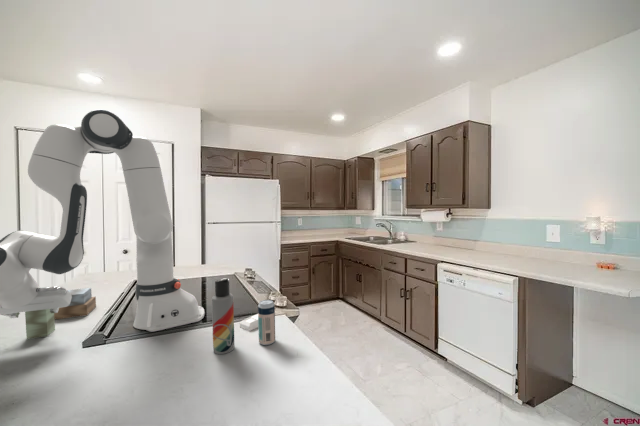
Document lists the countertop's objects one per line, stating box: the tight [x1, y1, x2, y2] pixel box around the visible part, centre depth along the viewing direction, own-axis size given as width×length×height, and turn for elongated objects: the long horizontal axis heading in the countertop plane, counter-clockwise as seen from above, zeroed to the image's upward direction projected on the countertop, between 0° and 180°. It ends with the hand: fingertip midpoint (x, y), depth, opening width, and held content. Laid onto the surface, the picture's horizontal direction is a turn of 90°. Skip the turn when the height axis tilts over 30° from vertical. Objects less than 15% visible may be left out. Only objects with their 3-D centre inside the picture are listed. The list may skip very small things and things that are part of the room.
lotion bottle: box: [211, 278, 235, 355], centre depth 80 cm, size 6×6×20 cm
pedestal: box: [54, 287, 97, 320], centre depth 109 cm, size 10×10×8 cm
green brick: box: [24, 309, 56, 340], centre depth 91 cm, size 5×5×10 cm
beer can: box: [257, 299, 276, 346], centre depth 84 cm, size 5×5×12 cm
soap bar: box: [239, 313, 258, 332], centre depth 97 cm, size 5×9×3 cm, turn 143°
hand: (36, 313), depth 89 cm, fingers open, 8 cm apart
